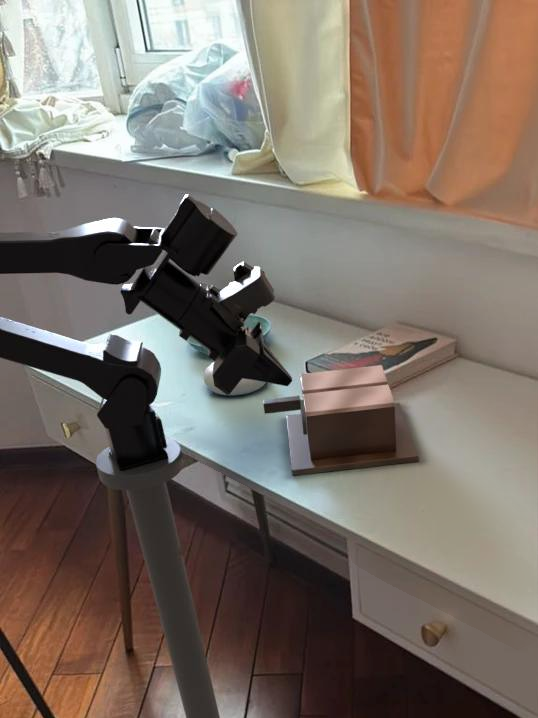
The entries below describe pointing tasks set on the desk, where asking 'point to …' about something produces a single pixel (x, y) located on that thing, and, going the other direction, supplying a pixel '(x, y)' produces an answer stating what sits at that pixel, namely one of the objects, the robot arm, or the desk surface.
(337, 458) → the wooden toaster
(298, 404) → the knife
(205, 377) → the donut
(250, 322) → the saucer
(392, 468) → the desk surface
